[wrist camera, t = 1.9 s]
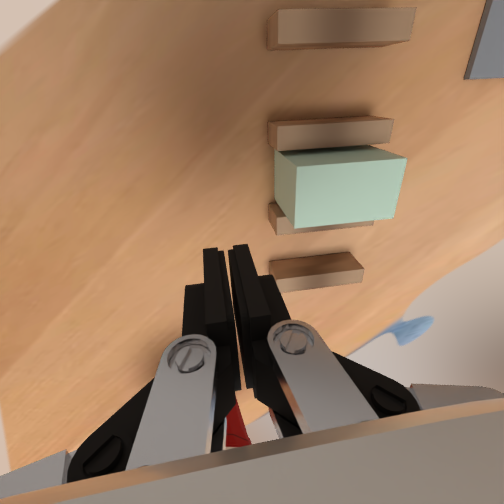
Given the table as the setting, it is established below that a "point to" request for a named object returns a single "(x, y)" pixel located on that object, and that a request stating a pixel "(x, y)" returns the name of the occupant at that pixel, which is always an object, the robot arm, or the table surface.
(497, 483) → the robot arm
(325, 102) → the table surface
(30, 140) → the table surface
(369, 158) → the block
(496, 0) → the pad
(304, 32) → the rack
